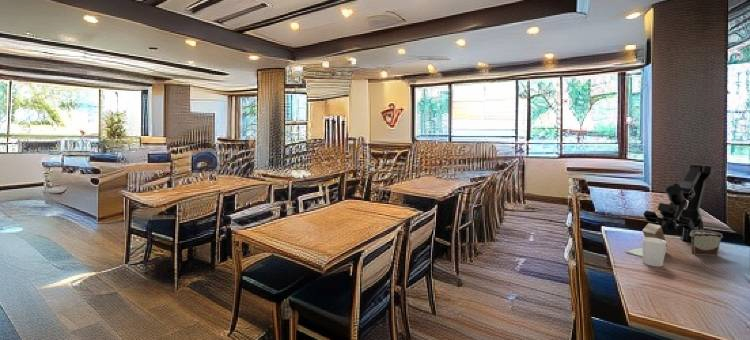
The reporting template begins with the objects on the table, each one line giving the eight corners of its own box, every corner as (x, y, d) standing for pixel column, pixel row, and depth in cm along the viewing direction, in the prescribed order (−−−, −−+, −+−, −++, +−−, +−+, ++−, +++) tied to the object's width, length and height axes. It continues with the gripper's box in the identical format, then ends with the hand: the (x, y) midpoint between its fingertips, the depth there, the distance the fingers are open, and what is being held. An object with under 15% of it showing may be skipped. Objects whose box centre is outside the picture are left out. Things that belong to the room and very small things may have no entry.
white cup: (660, 261, 158) (662, 238, 157) (667, 268, 151) (670, 243, 150) (638, 259, 161) (640, 236, 160) (644, 265, 154) (646, 241, 152)
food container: (709, 251, 173) (712, 229, 172) (720, 255, 167) (723, 233, 166) (681, 250, 174) (683, 228, 173) (690, 254, 168) (693, 232, 167)
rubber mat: (644, 248, 176) (644, 247, 176) (665, 254, 168) (665, 253, 168) (625, 252, 170) (625, 251, 170) (646, 258, 162) (646, 257, 162)
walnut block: (655, 242, 176) (648, 223, 172) (667, 245, 171) (660, 225, 167) (649, 249, 174) (642, 230, 170) (661, 252, 170) (654, 232, 166)
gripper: (647, 193, 181) (631, 218, 177) (693, 200, 164) (676, 228, 160) (655, 208, 185) (639, 233, 181) (701, 217, 168) (685, 244, 165)
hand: (659, 234), depth 172 cm, fingers closed
